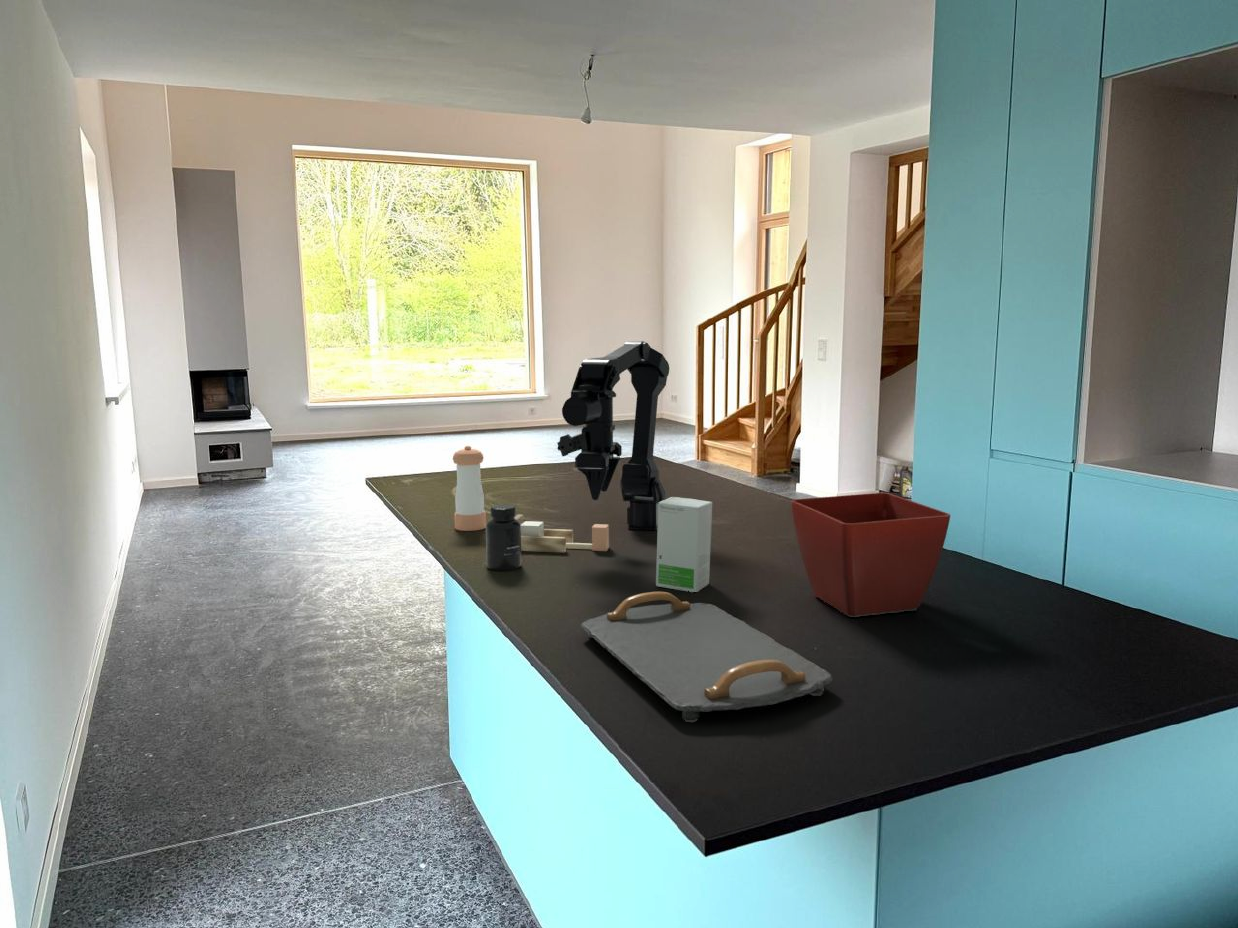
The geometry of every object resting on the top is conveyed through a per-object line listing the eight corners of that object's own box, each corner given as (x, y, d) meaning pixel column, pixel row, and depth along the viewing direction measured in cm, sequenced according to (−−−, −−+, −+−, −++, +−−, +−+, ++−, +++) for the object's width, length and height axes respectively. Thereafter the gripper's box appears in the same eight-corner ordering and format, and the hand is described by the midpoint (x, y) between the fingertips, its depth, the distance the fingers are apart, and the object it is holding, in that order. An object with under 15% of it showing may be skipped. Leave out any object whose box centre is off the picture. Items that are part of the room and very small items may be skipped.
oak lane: (573, 543, 191) (572, 516, 190) (564, 552, 183) (564, 524, 182) (518, 541, 193) (518, 514, 192) (508, 550, 185) (507, 522, 184)
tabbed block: (609, 546, 187) (609, 524, 186) (605, 551, 183) (605, 528, 183) (526, 543, 190) (525, 521, 190) (520, 548, 187) (520, 525, 186)
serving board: (571, 634, 137) (570, 595, 136) (702, 613, 146) (703, 577, 145) (687, 741, 101) (688, 690, 100) (851, 705, 110) (853, 658, 109)
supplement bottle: (515, 572, 169) (513, 510, 167) (481, 570, 170) (479, 509, 168) (526, 562, 175) (524, 503, 174) (493, 561, 177) (491, 502, 175)
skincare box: (655, 587, 159) (654, 502, 156) (670, 577, 164) (670, 495, 162) (698, 593, 155) (698, 506, 152) (712, 583, 161) (713, 499, 158)
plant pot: (841, 628, 137) (845, 522, 134) (786, 592, 155) (788, 498, 152) (948, 616, 142) (954, 514, 139) (882, 583, 160) (886, 492, 157)
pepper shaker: (469, 532, 201) (467, 449, 198) (448, 528, 205) (444, 446, 202) (492, 526, 207) (490, 445, 204) (471, 522, 211) (468, 443, 208)
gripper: (571, 415, 192) (572, 486, 194) (549, 425, 174) (550, 503, 176) (621, 416, 190) (622, 487, 192) (604, 426, 172) (605, 505, 174)
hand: (599, 495), depth 184 cm, fingers open, 9 cm apart
